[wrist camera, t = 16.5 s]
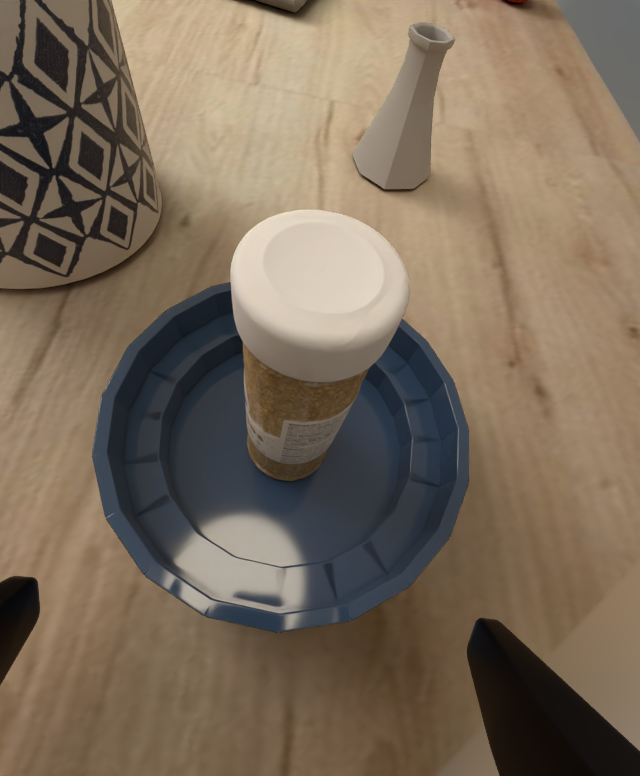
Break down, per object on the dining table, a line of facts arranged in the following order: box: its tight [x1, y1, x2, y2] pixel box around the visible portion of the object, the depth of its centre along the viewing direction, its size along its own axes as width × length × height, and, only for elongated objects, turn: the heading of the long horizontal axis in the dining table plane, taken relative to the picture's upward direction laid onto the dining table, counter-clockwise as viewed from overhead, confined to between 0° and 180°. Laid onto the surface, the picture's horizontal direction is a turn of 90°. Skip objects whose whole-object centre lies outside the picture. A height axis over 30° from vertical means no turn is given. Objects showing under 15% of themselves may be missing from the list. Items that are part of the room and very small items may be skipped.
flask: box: [352, 22, 455, 189], centre depth 31 cm, size 7×7×10 cm
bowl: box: [92, 282, 469, 633], centre depth 19 cm, size 17×17×4 cm
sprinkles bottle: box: [230, 210, 409, 481], centre depth 15 cm, size 5×5×14 cm
